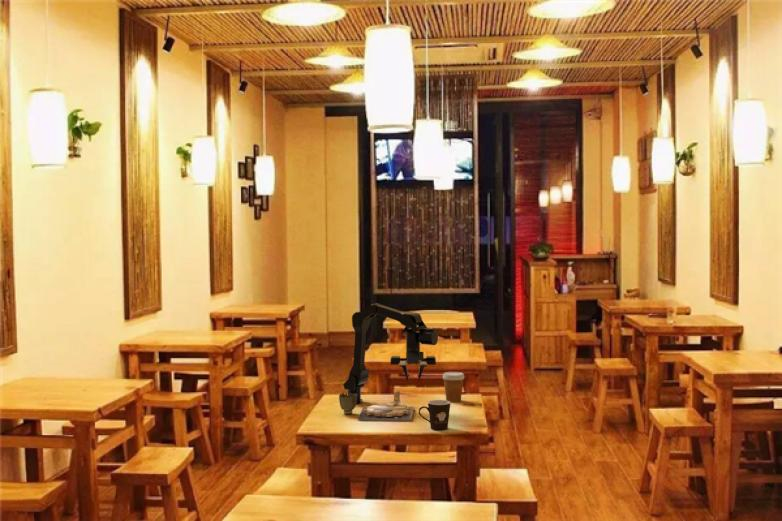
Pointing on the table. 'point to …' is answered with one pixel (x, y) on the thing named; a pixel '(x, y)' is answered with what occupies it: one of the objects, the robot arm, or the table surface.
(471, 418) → the table surface
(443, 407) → the coffee mug
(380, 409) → the index wheel
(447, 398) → the disposable coffee cup
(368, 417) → the base plate
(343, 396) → the cup
